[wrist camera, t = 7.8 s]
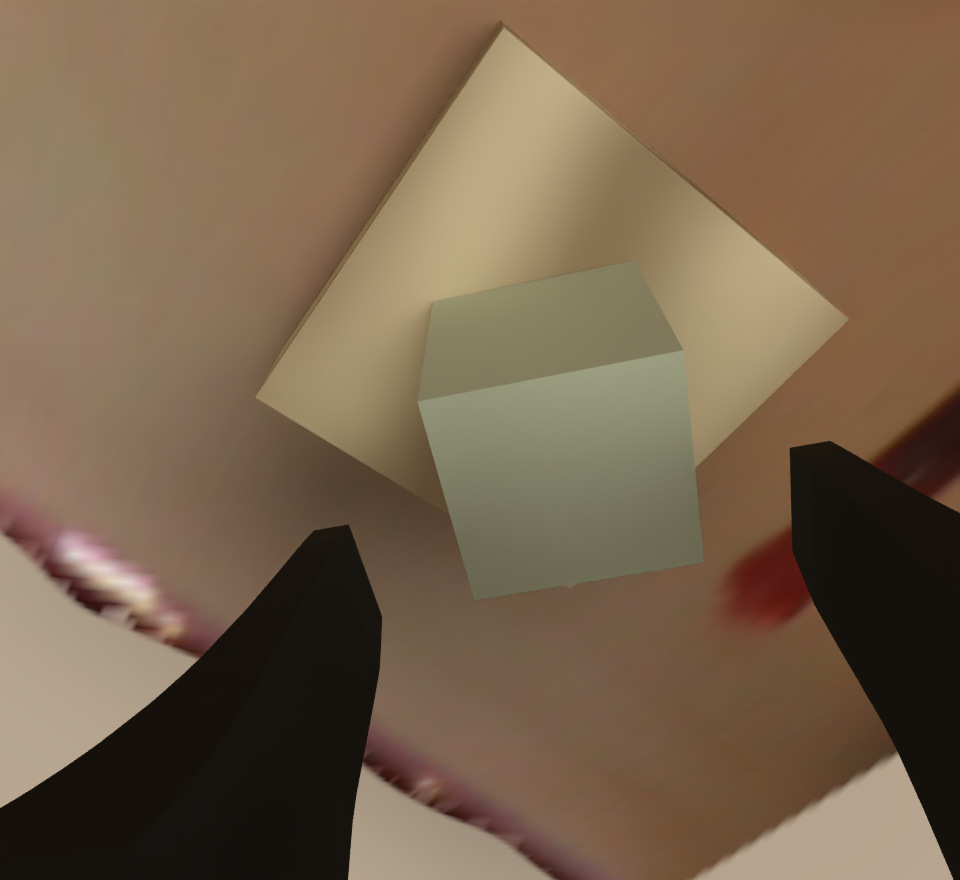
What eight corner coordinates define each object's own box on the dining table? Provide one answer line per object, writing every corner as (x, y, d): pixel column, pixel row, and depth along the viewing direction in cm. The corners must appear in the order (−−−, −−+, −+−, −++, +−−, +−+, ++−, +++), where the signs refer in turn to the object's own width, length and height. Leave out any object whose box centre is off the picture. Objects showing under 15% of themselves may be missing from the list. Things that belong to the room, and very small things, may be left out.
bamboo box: (791, 266, 22) (849, 319, 18) (559, 507, 26) (570, 588, 22) (501, 19, 19) (503, 27, 15) (290, 335, 23) (255, 397, 19)
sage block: (634, 260, 18) (682, 349, 13) (655, 436, 20) (704, 562, 16) (432, 301, 18) (417, 401, 14) (475, 469, 20) (474, 600, 16)
